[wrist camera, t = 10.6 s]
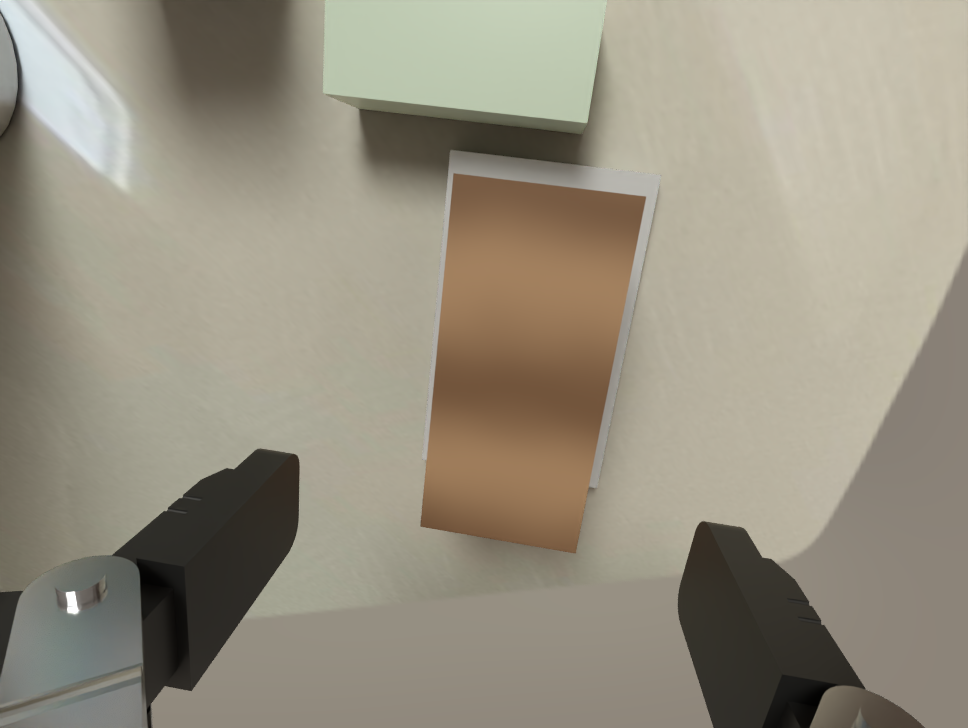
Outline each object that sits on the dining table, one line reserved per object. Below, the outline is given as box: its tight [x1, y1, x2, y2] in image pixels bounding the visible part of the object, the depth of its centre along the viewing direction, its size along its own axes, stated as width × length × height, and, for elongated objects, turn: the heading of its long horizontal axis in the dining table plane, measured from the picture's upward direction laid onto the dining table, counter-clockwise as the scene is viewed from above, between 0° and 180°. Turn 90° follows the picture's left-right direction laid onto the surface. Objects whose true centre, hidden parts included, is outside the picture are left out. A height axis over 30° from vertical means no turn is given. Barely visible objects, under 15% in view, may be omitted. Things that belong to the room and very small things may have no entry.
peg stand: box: [422, 150, 661, 488], centre depth 24 cm, size 9×15×5 cm, turn 173°
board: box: [421, 173, 646, 553], centre depth 20 cm, size 13×6×3 cm, turn 173°
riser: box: [323, 0, 607, 134], centre depth 22 cm, size 10×4×4 cm, turn 83°
